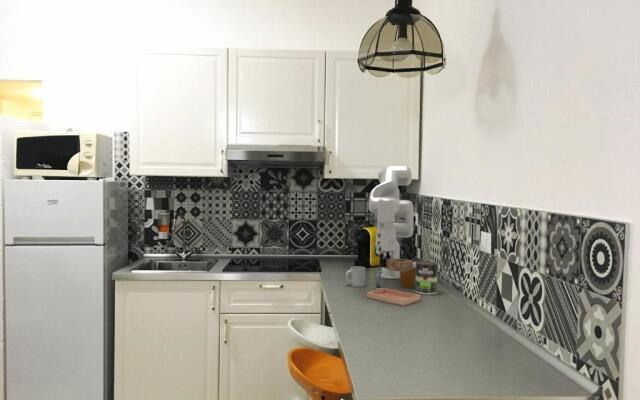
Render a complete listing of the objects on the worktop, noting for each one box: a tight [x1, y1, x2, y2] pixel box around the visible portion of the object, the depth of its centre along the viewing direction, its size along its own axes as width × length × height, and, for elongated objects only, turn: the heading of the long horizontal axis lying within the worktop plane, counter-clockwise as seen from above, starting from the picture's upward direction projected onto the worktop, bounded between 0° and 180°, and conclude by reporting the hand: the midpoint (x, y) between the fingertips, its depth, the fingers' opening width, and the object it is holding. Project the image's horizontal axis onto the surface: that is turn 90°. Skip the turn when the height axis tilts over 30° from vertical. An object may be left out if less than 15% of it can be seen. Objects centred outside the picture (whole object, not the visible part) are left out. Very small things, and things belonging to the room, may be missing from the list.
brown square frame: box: [378, 257, 414, 272], centre depth 206 cm, size 14×8×4 cm, turn 46°
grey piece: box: [373, 271, 383, 290], centre depth 227 cm, size 4×4×8 cm
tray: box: [366, 287, 421, 307], centre depth 207 cm, size 13×19×2 cm
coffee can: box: [414, 260, 439, 296], centre depth 221 cm, size 10×10×14 cm
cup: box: [345, 265, 366, 288], centre depth 234 cm, size 7×10×9 cm
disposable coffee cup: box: [399, 261, 417, 289], centre depth 233 cm, size 10×10×12 cm
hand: (385, 266), depth 209 cm, fingers closed on brown square frame, 3 cm apart
